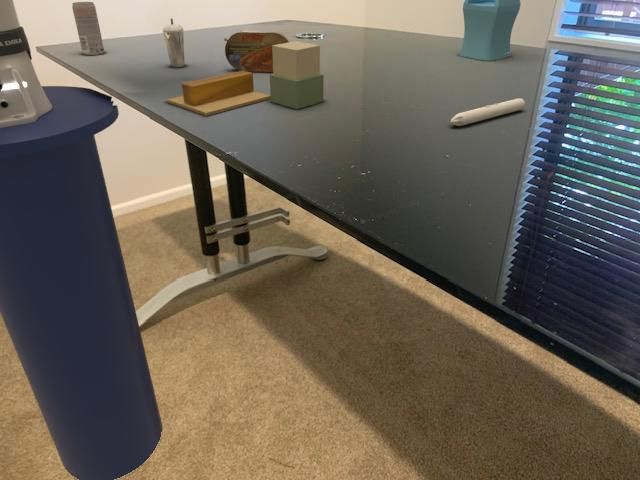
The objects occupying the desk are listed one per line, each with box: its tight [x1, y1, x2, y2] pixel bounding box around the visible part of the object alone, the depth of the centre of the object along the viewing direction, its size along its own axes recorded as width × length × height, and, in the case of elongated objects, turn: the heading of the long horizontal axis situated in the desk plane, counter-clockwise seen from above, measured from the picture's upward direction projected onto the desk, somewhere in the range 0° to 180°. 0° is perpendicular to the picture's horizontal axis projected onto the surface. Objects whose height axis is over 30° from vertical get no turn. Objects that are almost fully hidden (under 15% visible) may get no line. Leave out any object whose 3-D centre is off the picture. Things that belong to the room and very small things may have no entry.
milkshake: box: [162, 18, 186, 68], centre depth 117 cm, size 5×5×10 cm
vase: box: [459, 0, 522, 62], centre depth 125 cm, size 10×10×25 cm
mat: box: [166, 90, 271, 117], centre depth 94 cm, size 15×12×1 cm
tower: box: [269, 40, 325, 110], centre depth 92 cm, size 7×7×10 cm
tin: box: [224, 31, 290, 73], centre depth 113 cm, size 15×3×8 cm, turn 82°
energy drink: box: [71, 1, 105, 56], centre depth 128 cm, size 5×5×12 cm
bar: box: [181, 70, 255, 106], centre depth 94 cm, size 3×14×4 cm, turn 138°
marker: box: [450, 97, 526, 127], centre depth 85 cm, size 18×2×2 cm, turn 125°
